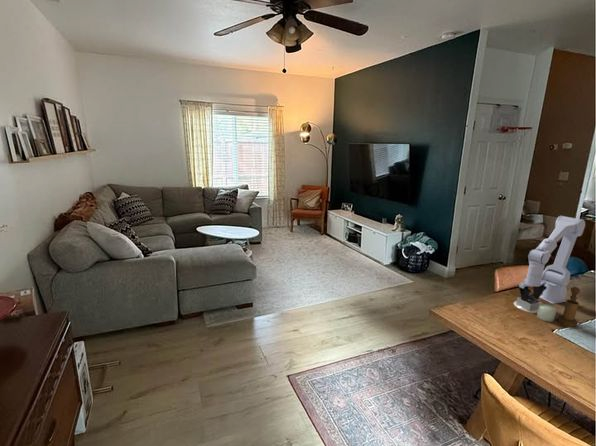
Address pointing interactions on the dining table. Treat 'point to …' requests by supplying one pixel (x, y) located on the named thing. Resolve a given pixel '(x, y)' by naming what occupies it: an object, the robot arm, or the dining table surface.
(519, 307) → the trivet
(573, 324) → the mortar and pestle
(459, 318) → the dining table surface
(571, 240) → the robot arm
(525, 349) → the dining table surface
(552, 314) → the pale green rounded block
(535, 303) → the grey faceted box
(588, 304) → the dining table surface
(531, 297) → the plunger
